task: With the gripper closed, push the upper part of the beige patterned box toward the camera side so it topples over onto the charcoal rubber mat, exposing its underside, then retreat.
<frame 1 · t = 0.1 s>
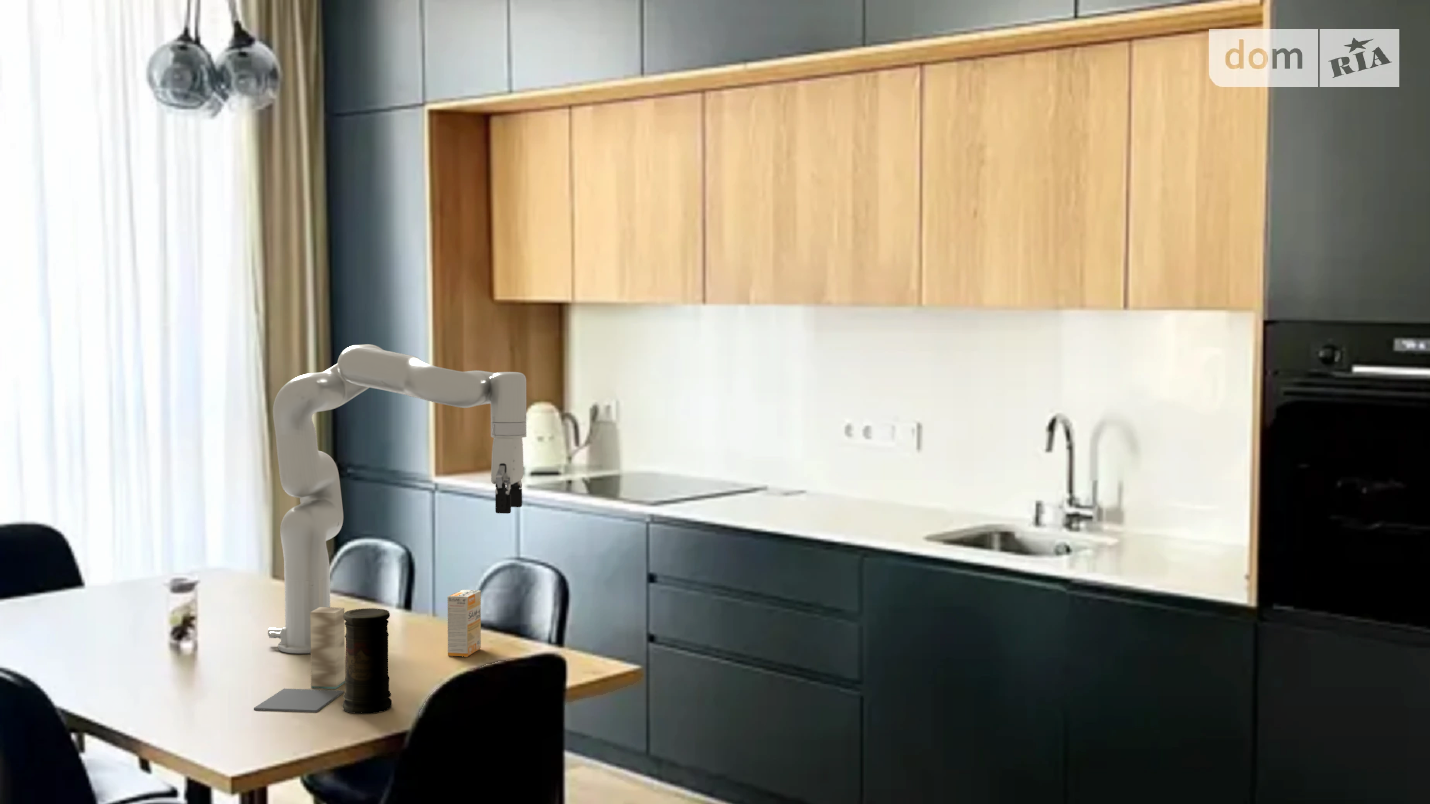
hand: (508, 510, 316), 31 cm above the table, fingers open, 9 cm apart
beige patterned box: (328, 685, 291), on the table
supplement box: (464, 653, 319), on the table
mat: (299, 701, 279), on the table
container: (367, 708, 275), on the table
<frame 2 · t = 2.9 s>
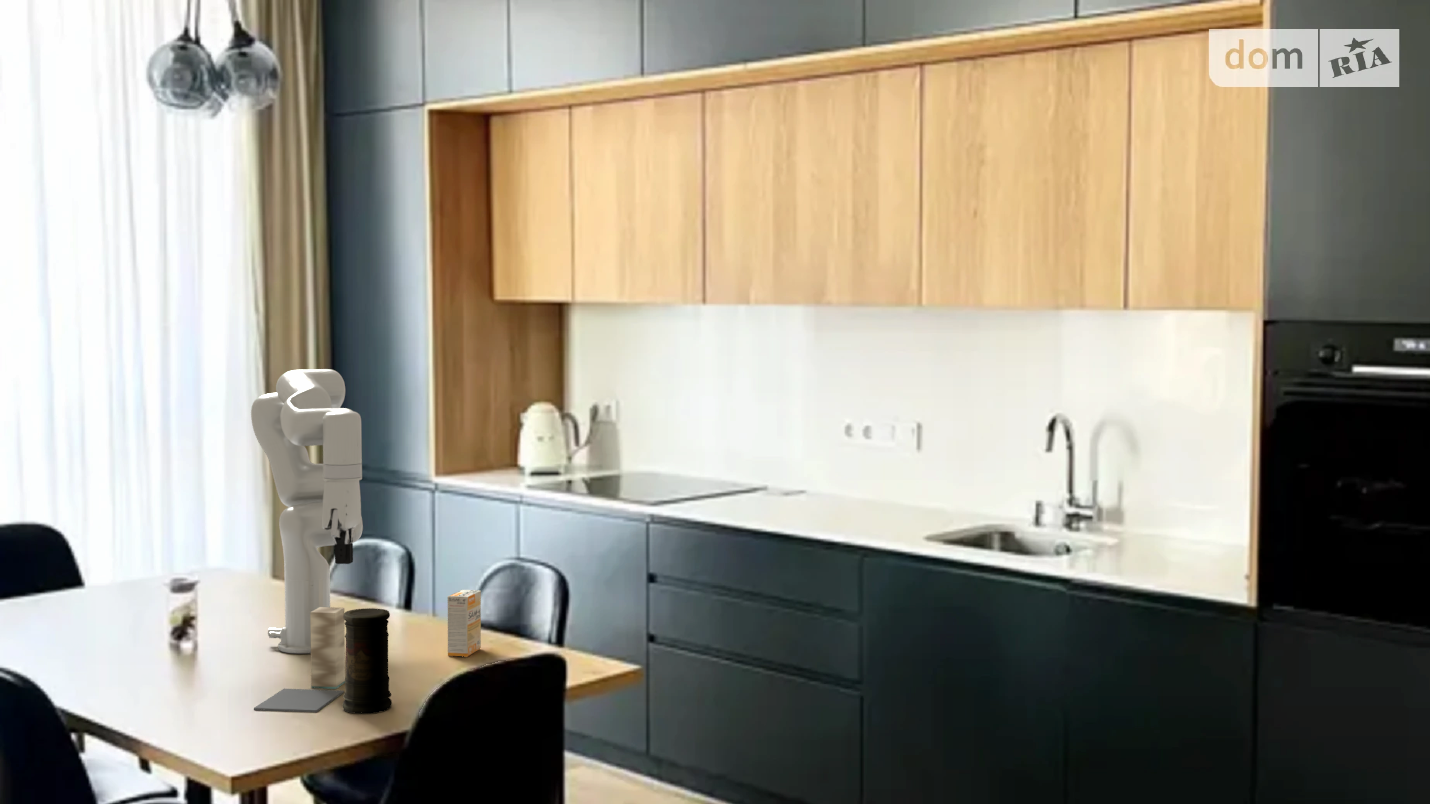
hand: (344, 563, 299), 23 cm above the table, fingers closed
nothing on the table moved.
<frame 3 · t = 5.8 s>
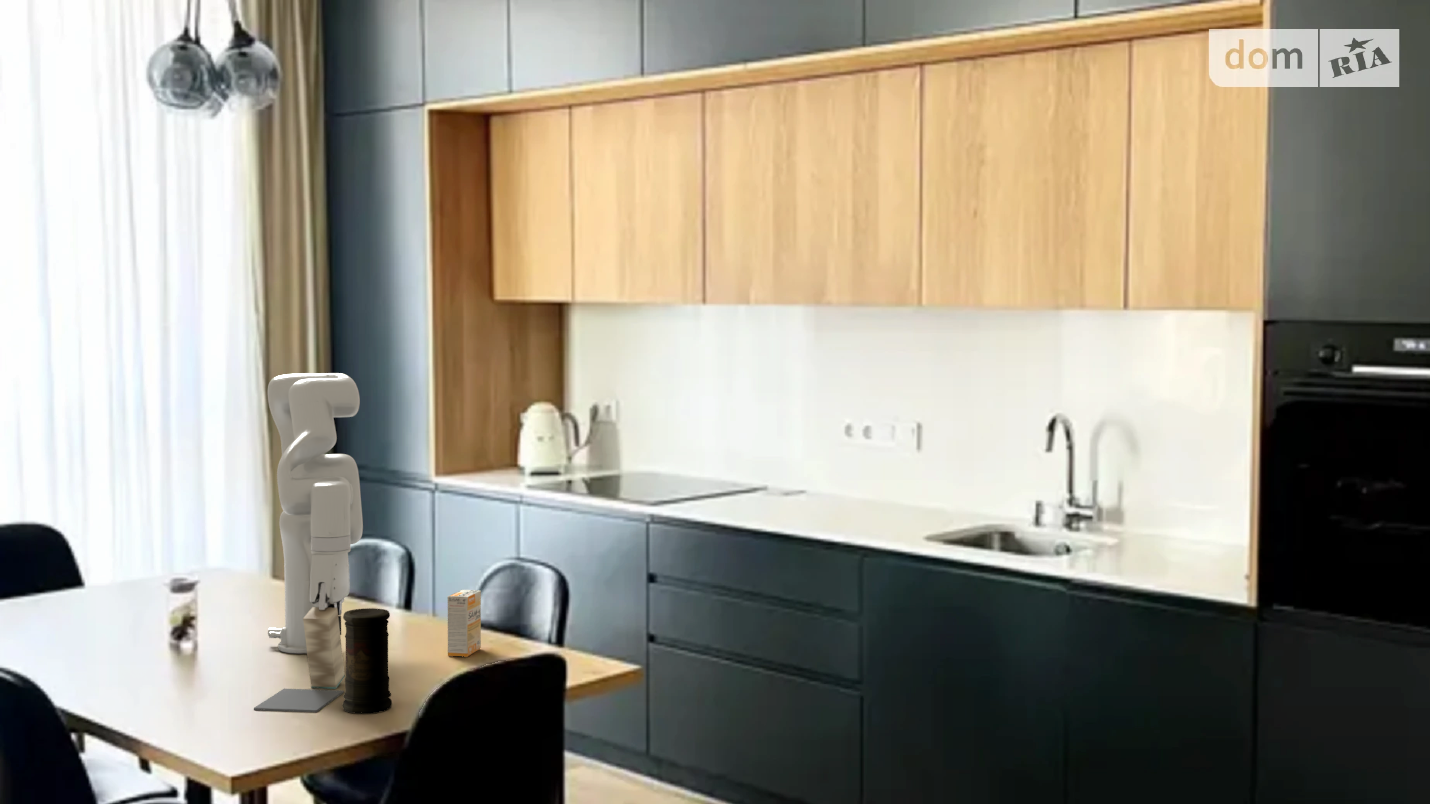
hand: (332, 636, 293), 9 cm above the table, fingers closed
beige patterned box: (328, 682, 291), point 1 cm above the table, tilted 14°, touching gripper
everything else where it was.
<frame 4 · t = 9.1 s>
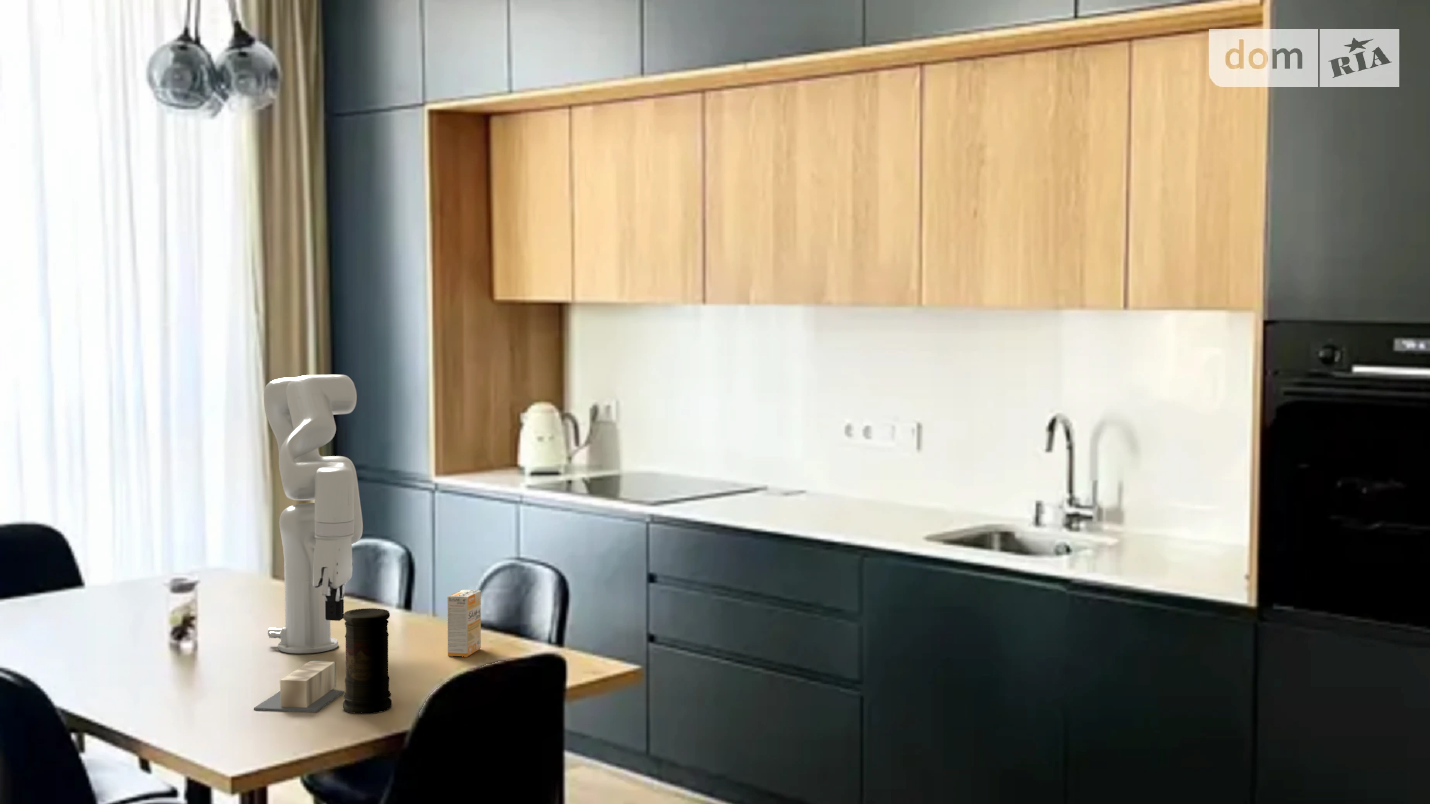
hand: (334, 619, 296), 12 cm above the table, fingers closed
beige patterned box: (323, 673, 289), point 3 cm above the table, tilted 90°, touching mat
everything else where it was.
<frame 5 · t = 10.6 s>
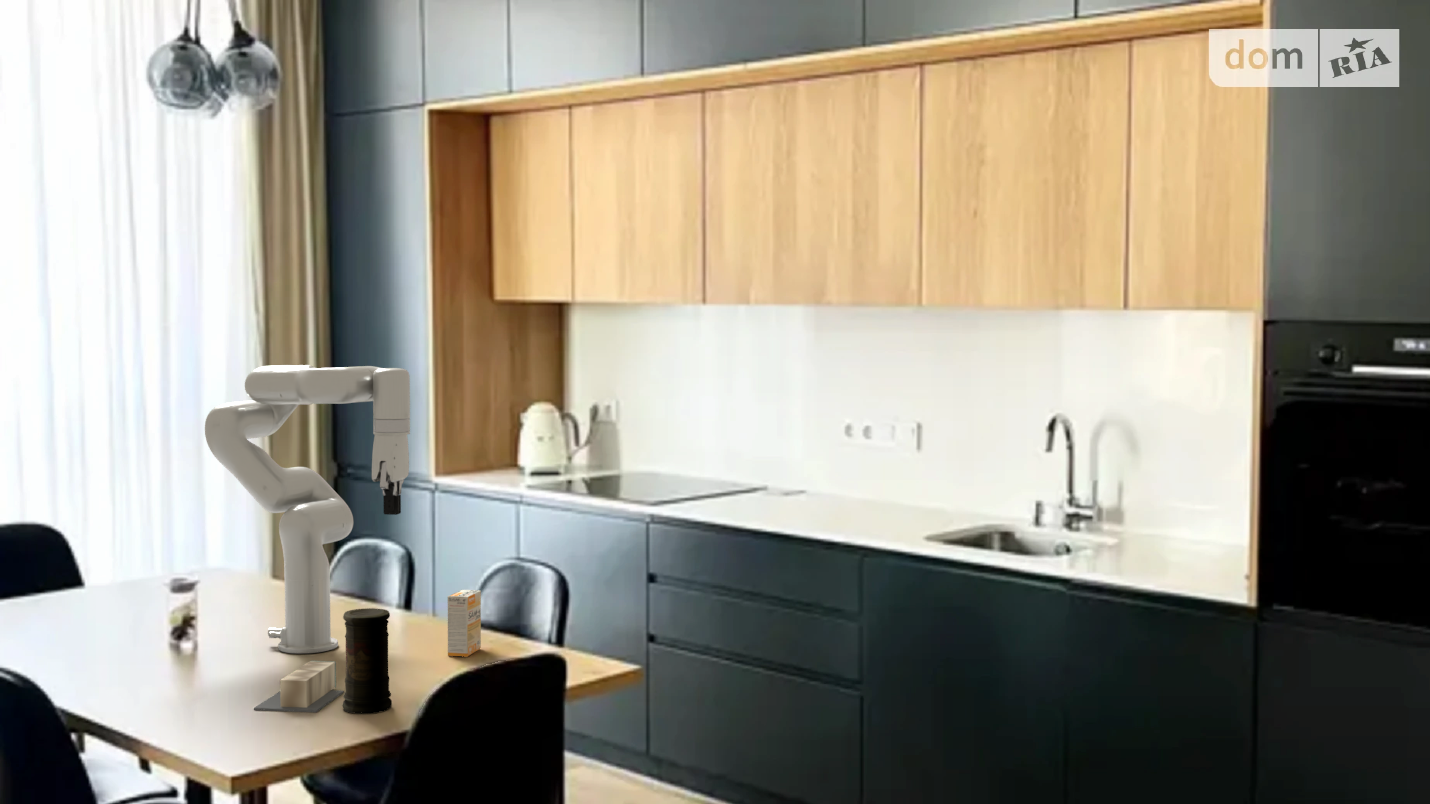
hand: (392, 513, 311), 31 cm above the table, fingers closed
nothing on the table moved.
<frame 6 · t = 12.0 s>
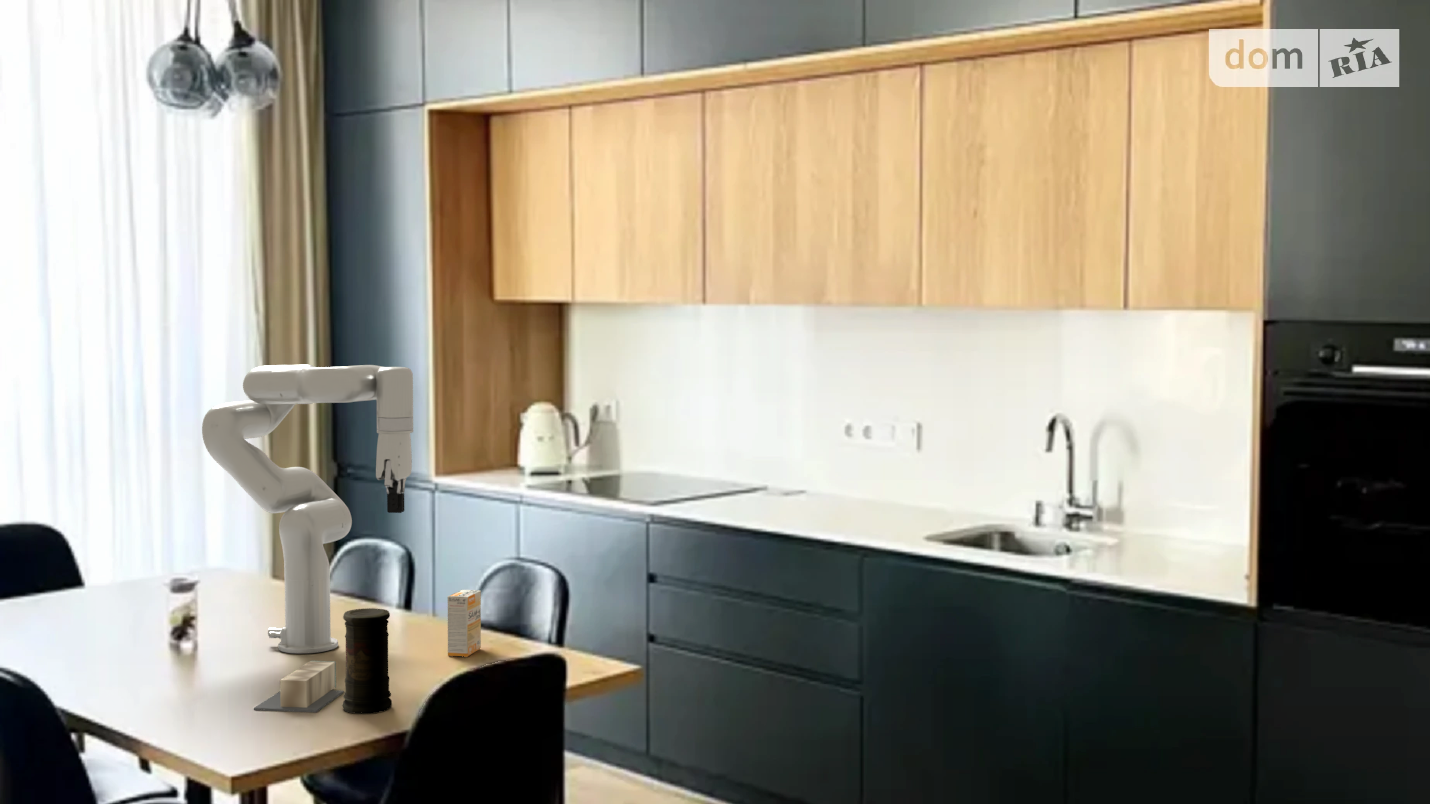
hand: (395, 512, 312), 31 cm above the table, fingers closed
nothing on the table moved.
at the end: beige patterned box tilted 90°; beige patterned box 9.6 cm from the mat (horizontally); the gripper is holding nothing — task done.
